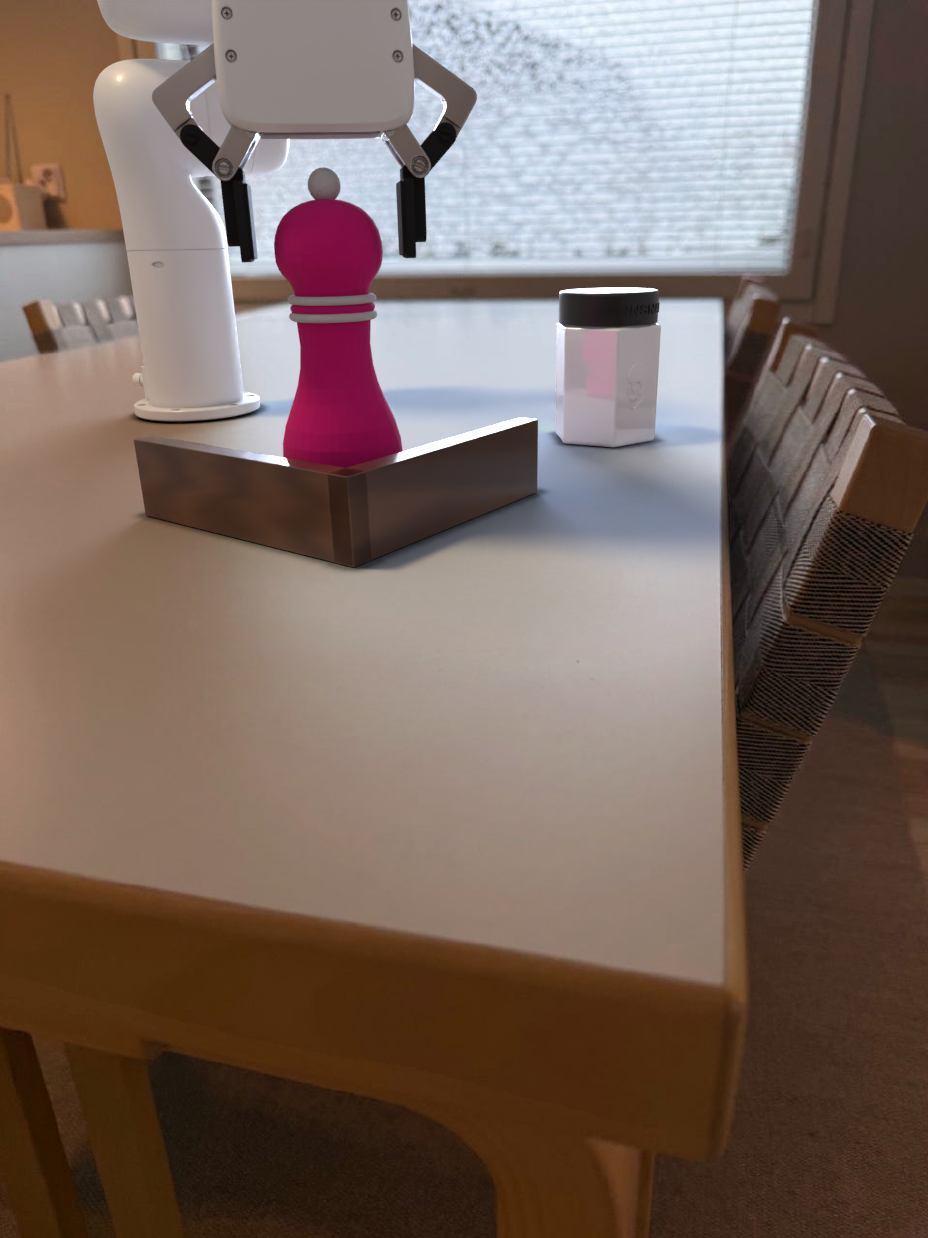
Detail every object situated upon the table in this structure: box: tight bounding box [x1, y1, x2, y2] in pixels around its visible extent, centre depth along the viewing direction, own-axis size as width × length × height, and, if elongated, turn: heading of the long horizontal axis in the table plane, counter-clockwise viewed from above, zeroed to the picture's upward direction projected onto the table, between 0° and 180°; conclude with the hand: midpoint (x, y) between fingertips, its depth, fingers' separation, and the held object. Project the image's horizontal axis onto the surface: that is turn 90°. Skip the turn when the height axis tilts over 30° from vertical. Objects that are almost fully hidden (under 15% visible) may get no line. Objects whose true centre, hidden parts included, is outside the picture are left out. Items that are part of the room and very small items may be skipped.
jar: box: [554, 287, 662, 448], centre depth 77 cm, size 9×8×12 cm
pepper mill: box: [273, 166, 404, 468], centre depth 54 cm, size 7×7×20 cm
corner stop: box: [133, 417, 539, 568], centre depth 61 cm, size 18×18×5 cm
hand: (329, 257), depth 52 cm, fingers open, 8 cm apart
